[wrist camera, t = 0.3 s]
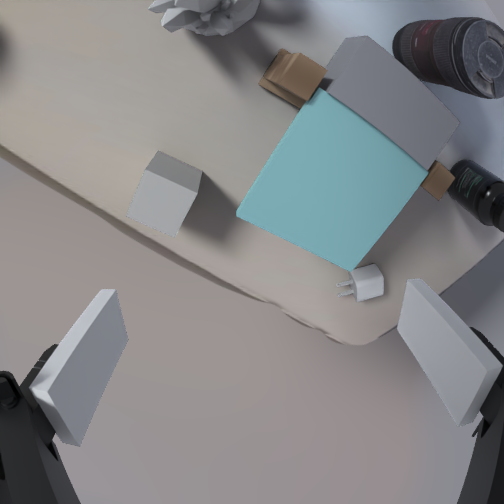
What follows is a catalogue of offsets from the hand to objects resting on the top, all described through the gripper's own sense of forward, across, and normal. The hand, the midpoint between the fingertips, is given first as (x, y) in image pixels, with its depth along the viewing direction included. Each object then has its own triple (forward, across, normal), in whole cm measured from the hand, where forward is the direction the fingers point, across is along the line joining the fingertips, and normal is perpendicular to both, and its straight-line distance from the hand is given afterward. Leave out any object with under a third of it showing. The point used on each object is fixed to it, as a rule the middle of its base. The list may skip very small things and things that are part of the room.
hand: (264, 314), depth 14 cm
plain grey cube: (+28, -10, +2) cm, 29 cm away
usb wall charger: (+33, +16, -14) cm, 39 cm away
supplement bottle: (+30, +32, +2) cm, 44 cm away
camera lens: (+25, +20, +20) cm, 38 cm away
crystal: (+23, -3, +24) cm, 34 cm away
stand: (+26, +10, +10) cm, 30 cm away
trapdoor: (+19, +9, +6) cm, 22 cm away
